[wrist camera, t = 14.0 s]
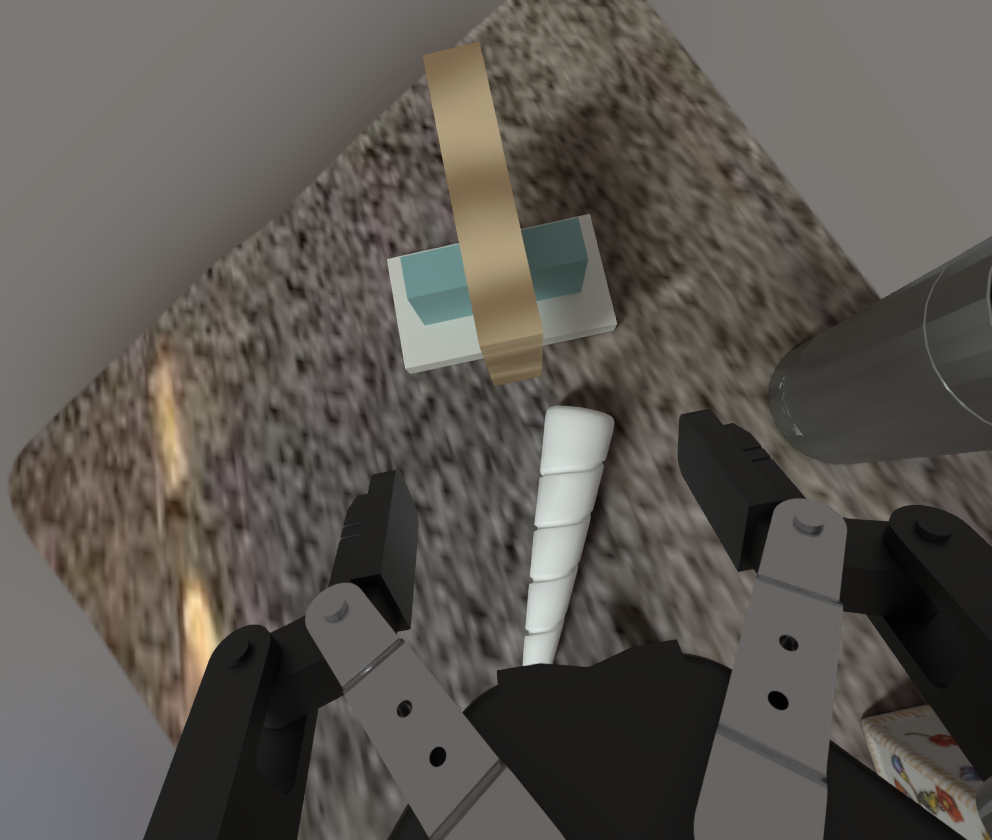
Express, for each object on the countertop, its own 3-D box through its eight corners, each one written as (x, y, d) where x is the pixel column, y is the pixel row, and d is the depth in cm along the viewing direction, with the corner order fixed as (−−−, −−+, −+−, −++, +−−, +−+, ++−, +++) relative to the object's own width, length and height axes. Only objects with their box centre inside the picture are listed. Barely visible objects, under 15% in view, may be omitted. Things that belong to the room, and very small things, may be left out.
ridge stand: (587, 224, 38) (598, 170, 32) (613, 330, 37) (630, 295, 30) (392, 268, 39) (364, 223, 32) (410, 373, 37) (384, 348, 31)
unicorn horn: (469, 734, 33) (458, 774, 28) (548, 406, 36) (550, 393, 32) (535, 756, 33) (536, 799, 28) (610, 421, 36) (622, 409, 31)
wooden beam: (449, 161, 33) (422, 55, 25) (493, 151, 32) (479, 41, 25) (494, 385, 30) (479, 346, 22) (541, 376, 30) (543, 333, 22)
